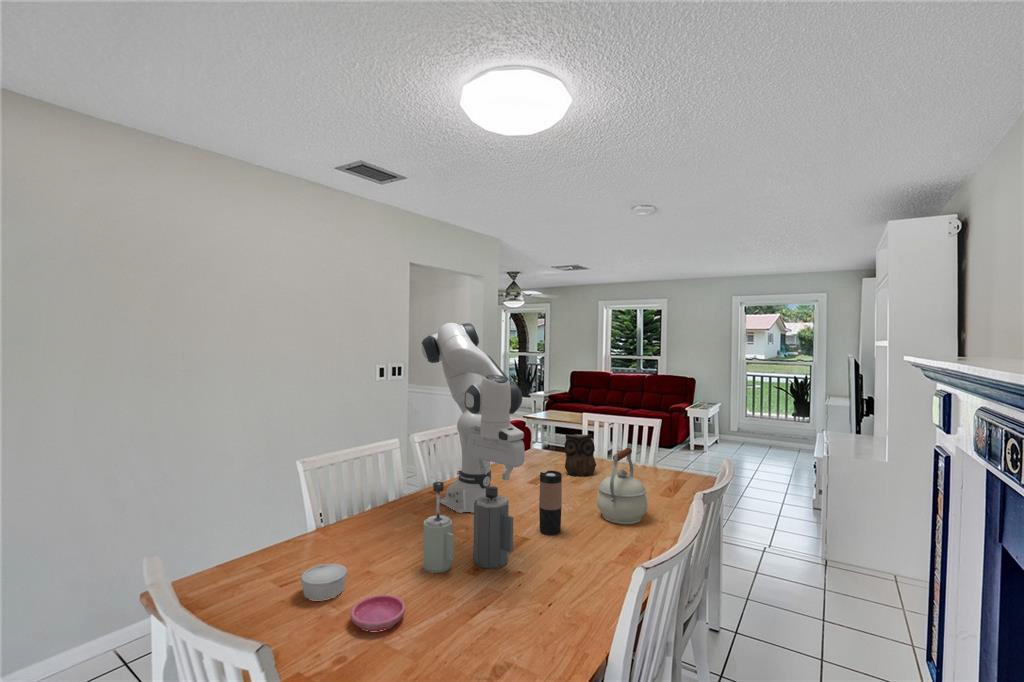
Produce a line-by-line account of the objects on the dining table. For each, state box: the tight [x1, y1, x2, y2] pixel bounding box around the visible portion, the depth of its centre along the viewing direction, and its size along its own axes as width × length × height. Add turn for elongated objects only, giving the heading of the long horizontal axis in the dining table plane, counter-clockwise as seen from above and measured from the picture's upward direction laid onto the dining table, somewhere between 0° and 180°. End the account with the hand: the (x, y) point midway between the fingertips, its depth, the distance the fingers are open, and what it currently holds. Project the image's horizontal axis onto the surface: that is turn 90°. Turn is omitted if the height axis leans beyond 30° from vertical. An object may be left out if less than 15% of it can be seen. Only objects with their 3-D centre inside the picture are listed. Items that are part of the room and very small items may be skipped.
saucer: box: [350, 594, 406, 631], centre depth 116 cm, size 12×12×3 cm
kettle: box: [596, 447, 648, 525], centre depth 185 cm, size 25×18×25 cm
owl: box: [564, 433, 597, 478], centre depth 240 cm, size 13×13×20 cm
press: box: [472, 494, 514, 570], centre depth 146 cm, size 13×11×18 cm
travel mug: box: [538, 470, 563, 536], centre depth 170 cm, size 8×8×20 cm
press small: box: [422, 514, 455, 574], centre depth 142 cm, size 10×8×14 cm
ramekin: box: [300, 563, 348, 600], centre depth 128 cm, size 11×11×5 cm
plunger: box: [486, 485, 499, 501], centre depth 147 cm, size 4×4×13 cm
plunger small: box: [432, 481, 445, 518], centre depth 143 cm, size 3×3×10 cm
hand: (493, 476), depth 147 cm, fingers open, 8 cm apart
